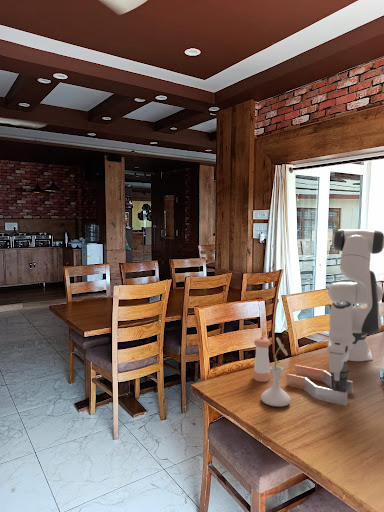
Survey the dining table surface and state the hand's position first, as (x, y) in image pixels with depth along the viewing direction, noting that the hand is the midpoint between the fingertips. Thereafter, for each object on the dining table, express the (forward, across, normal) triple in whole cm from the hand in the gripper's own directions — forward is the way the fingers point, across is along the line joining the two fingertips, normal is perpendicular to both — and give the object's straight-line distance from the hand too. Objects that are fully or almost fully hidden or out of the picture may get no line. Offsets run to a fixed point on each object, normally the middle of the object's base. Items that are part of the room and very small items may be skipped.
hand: (339, 376), depth 152 cm
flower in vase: (+9, +17, -20) cm, 28 cm away
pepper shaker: (+9, -1, -33) cm, 34 cm away
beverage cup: (+9, 0, 0) cm, 9 cm away
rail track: (+8, -3, -9) cm, 13 cm away
